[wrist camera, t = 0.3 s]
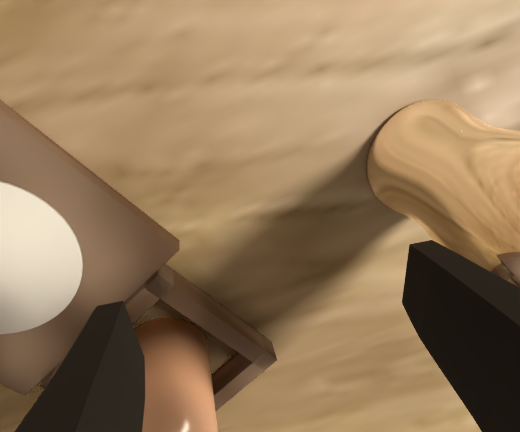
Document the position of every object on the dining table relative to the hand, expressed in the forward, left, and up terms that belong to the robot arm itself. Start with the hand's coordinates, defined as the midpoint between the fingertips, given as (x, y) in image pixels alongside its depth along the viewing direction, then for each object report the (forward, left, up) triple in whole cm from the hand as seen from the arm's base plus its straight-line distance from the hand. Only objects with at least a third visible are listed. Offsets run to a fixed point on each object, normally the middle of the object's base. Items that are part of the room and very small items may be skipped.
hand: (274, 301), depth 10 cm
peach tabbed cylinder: (-10, -6, -11) cm, 16 cm away
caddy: (-10, 0, -11) cm, 15 cm away
